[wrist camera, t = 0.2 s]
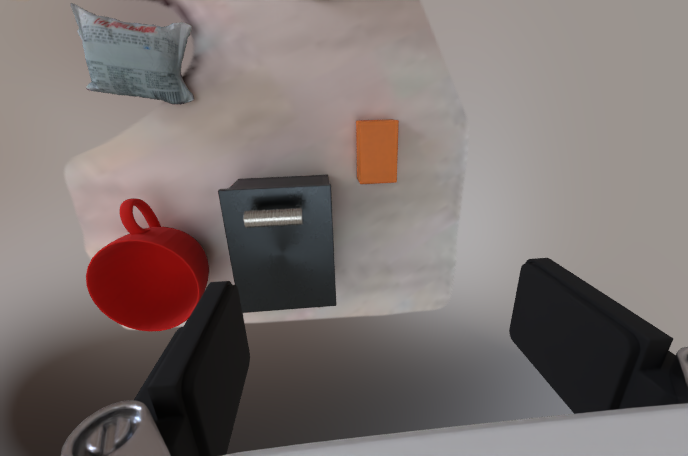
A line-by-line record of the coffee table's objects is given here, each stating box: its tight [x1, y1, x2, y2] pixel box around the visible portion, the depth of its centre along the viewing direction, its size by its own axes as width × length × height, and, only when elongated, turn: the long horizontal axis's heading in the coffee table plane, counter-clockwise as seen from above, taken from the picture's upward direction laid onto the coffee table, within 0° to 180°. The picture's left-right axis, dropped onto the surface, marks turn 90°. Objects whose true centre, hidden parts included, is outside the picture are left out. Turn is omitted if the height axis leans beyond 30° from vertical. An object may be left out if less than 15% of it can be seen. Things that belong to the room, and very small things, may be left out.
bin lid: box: [218, 184, 336, 313], centre depth 37 cm, size 16×13×5 cm
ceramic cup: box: [86, 199, 209, 331], centre depth 42 cm, size 13×17×10 cm
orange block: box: [356, 119, 399, 184], centre depth 43 cm, size 8×5×4 cm, turn 2°
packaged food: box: [71, 3, 194, 104], centre depth 36 cm, size 9×12×5 cm
